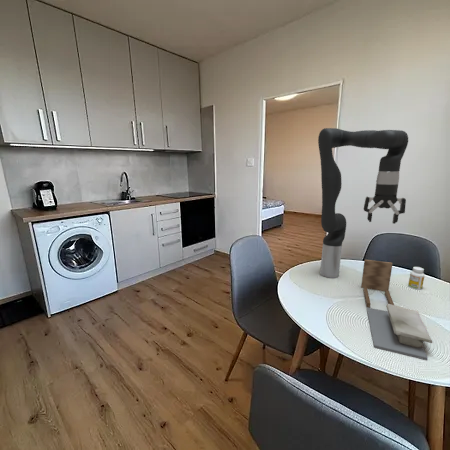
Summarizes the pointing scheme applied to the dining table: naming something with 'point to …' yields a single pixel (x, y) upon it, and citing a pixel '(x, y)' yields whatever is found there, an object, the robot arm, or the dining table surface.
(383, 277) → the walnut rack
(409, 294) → the dining table surface
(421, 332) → the packaged product
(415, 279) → the supplement bottle
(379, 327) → the charcoal pad
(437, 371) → the dining table surface
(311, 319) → the dining table surface
